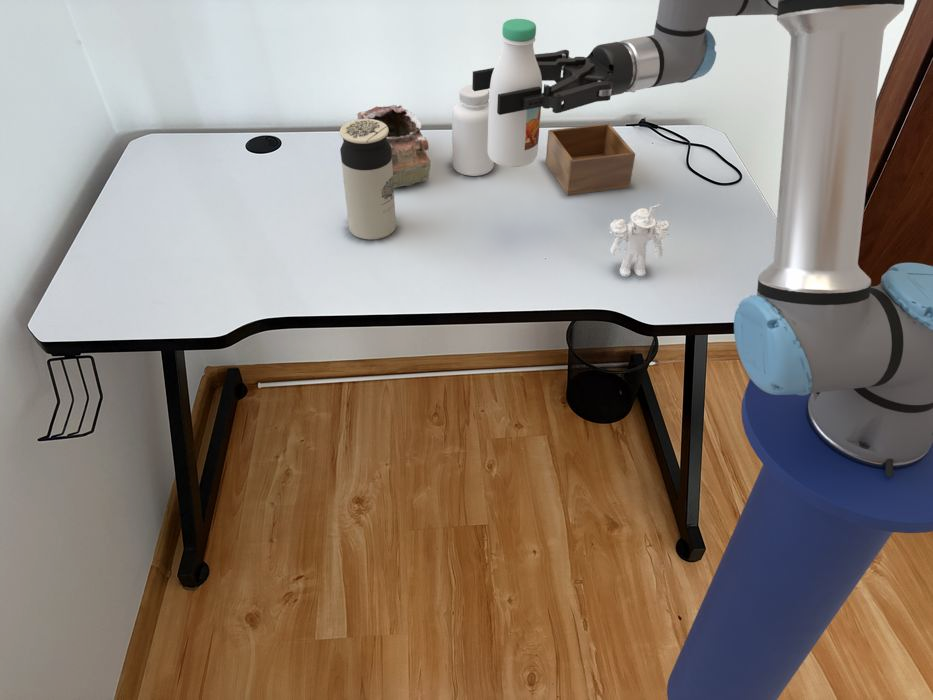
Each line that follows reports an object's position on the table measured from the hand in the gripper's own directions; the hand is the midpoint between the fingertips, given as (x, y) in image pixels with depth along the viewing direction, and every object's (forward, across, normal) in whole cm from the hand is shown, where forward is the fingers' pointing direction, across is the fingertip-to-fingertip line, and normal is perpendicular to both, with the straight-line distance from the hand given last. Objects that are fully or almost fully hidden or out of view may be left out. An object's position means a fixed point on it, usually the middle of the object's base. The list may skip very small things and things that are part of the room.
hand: (486, 92), depth 108 cm
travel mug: (+15, +12, -26) cm, 32 cm away
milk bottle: (-5, 0, -11) cm, 12 cm away
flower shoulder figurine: (-19, -16, -26) cm, 36 cm away
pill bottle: (-9, +24, -26) cm, 37 cm away
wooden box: (-28, +12, -26) cm, 40 cm away
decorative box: (+6, +30, -26) cm, 40 cm away
